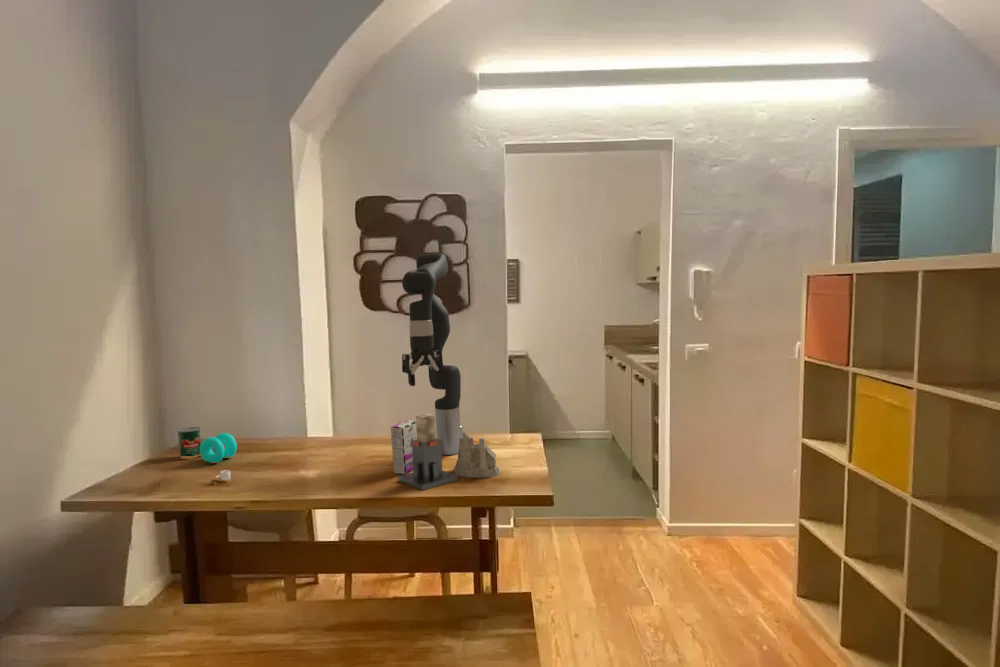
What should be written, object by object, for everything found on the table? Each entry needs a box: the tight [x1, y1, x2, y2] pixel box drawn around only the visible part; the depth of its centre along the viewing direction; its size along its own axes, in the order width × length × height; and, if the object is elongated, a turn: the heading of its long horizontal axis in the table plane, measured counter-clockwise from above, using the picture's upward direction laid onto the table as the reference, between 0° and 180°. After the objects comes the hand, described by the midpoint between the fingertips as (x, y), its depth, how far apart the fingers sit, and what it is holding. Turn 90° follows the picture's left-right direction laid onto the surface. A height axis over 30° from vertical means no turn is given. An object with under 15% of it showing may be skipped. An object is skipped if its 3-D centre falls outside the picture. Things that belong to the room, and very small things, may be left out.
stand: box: [397, 439, 459, 491], centre depth 213 cm, size 14×14×14 cm
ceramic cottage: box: [454, 431, 500, 478], centre depth 223 cm, size 16×16×15 cm
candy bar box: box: [390, 419, 417, 475], centre depth 227 cm, size 11×5×16 cm, turn 160°
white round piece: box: [215, 469, 231, 481], centre depth 220 cm, size 9×8×4 cm
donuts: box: [200, 432, 238, 463], centre depth 247 cm, size 10×10×10 cm
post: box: [415, 413, 436, 443], centre depth 213 cm, size 5×5×20 cm
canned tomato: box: [177, 426, 202, 456], centre depth 254 cm, size 8×8×11 cm
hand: (423, 384), depth 211 cm, fingers open, 8 cm apart
